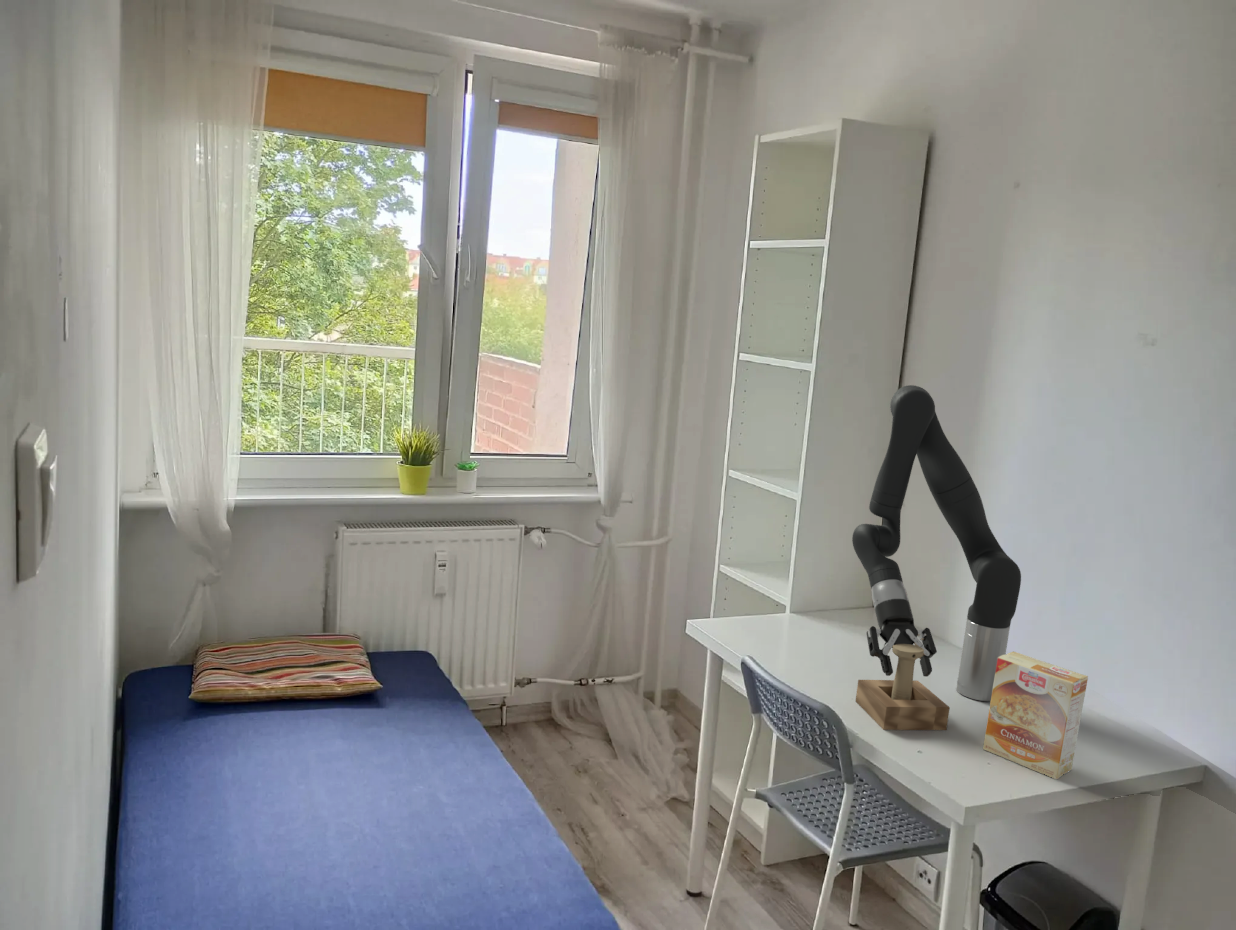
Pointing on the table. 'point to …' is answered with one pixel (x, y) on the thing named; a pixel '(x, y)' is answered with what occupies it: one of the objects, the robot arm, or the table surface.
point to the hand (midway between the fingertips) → (908, 674)
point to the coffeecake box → (1035, 714)
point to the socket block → (902, 706)
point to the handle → (905, 670)
